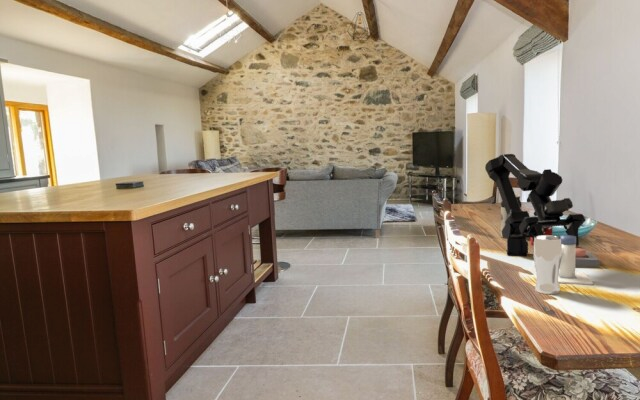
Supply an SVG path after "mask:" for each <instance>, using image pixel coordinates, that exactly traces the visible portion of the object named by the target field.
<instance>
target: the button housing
mask: <svg viewBox="0 0 640 400" xmlns="http://www.w3.org/2000/svg"><path fill="white" fill-rule="evenodd" d="M575 268H597V269H599V268H600V259H599V258H598V257H597V256H596V255H595V254H594V253H593V252H590V251H586V258H576V257H575Z"/></svg>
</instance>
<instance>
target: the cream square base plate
mask: <svg viewBox="0 0 640 400" xmlns="http://www.w3.org/2000/svg"><path fill="white" fill-rule="evenodd" d="M558 284H569V285H591V286H592V285H594V283H593V281H592V280H591V278H590V277H589V276H588V275H587V273H586V272H585V271H575V277H574V278H564V277H561V276H560V270H559V275H558Z"/></svg>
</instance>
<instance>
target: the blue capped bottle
mask: <svg viewBox="0 0 640 400" xmlns="http://www.w3.org/2000/svg"><path fill="white" fill-rule="evenodd" d="M559 237H561V245H562V259H561V265H560V270H559V271H560V276H561V277H564V278H574V277H575V272H576V267H575V254H576V248H577V246H576V236H572V235H567V234H562V235H559Z"/></svg>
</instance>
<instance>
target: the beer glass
mask: <svg viewBox="0 0 640 400" xmlns="http://www.w3.org/2000/svg"><path fill="white" fill-rule="evenodd" d="M532 249H533V252H532V256H533V262H534V268H535V272H536V273H535V274H536V281H535V286H534V290H535V292H537V293H540V294H545V295H556V294H559V293H560V291H561V289H560V285H559V284H560V283H558V275H559V271H560V265H561V259H562V245H561V237H560V236H558V235H553V234H552V235H538V236H535V237H534V246H533V248H532Z"/></svg>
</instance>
